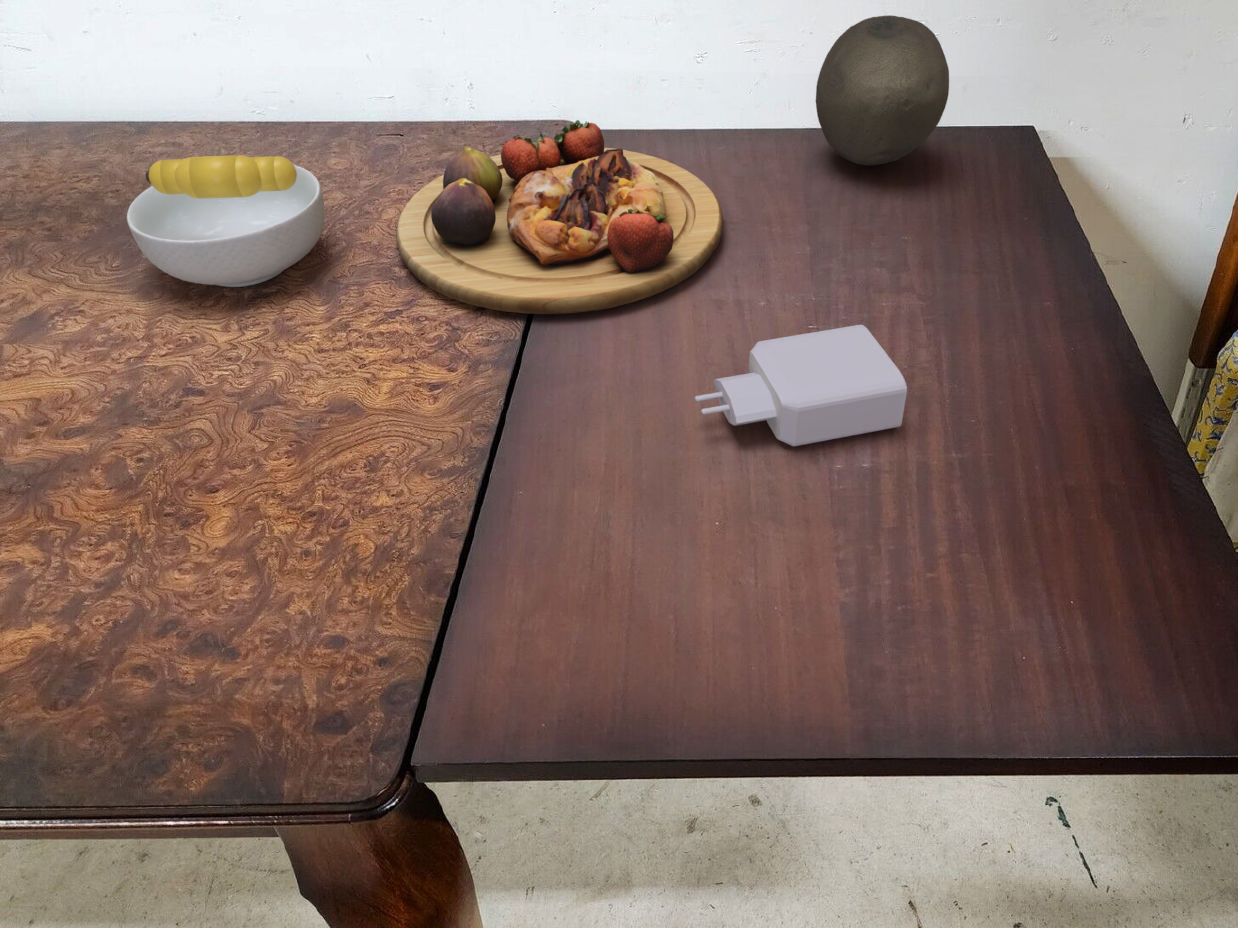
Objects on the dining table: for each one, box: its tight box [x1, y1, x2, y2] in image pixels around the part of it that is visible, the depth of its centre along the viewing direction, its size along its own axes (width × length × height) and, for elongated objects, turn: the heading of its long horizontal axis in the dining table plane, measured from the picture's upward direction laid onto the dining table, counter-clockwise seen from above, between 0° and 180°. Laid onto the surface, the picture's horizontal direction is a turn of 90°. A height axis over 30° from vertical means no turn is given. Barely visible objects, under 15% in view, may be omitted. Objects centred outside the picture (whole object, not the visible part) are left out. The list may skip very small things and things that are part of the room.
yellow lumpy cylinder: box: [145, 154, 297, 199], centre depth 98 cm, size 13×4×4 cm, turn 94°
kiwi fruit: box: [815, 14, 950, 166], centre depth 114 cm, size 14×14×15 cm
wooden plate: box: [395, 119, 724, 315], centre depth 105 cm, size 32×32×8 cm
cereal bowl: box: [126, 164, 326, 288], centre depth 101 cm, size 17×17×7 cm
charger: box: [694, 324, 908, 447], centre depth 84 cm, size 5×9×15 cm
